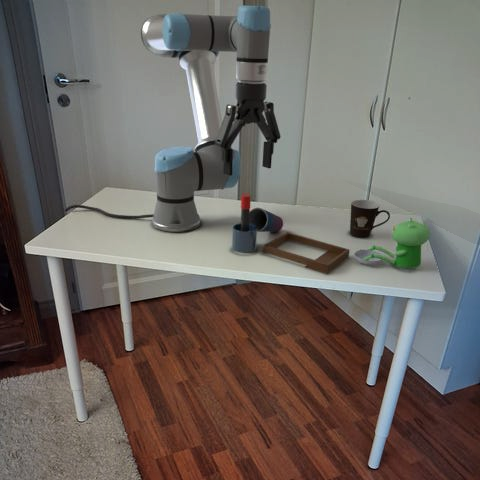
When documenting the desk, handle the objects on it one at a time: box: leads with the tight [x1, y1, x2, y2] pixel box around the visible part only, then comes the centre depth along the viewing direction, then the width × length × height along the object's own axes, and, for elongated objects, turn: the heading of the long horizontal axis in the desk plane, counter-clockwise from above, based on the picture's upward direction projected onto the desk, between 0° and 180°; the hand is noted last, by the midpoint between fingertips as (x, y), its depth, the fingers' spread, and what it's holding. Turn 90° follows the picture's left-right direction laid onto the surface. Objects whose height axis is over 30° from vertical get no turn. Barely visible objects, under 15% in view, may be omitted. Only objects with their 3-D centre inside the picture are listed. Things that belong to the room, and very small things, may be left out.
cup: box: [249, 207, 284, 233], centre depth 144 cm, size 7×7×15 cm
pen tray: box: [262, 231, 351, 275], centre depth 136 cm, size 21×14×3 cm, turn 55°
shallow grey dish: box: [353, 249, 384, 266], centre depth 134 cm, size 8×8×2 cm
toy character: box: [360, 217, 431, 269], centre depth 131 cm, size 10×18×13 cm, turn 73°
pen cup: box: [231, 222, 258, 254], centre depth 137 cm, size 7×7×7 cm
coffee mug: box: [349, 199, 391, 239], centre depth 149 cm, size 12×9×10 cm
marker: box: [240, 193, 252, 231], centre depth 134 cm, size 3×3×16 cm
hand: (247, 170), depth 126 cm, fingers open, 13 cm apart
